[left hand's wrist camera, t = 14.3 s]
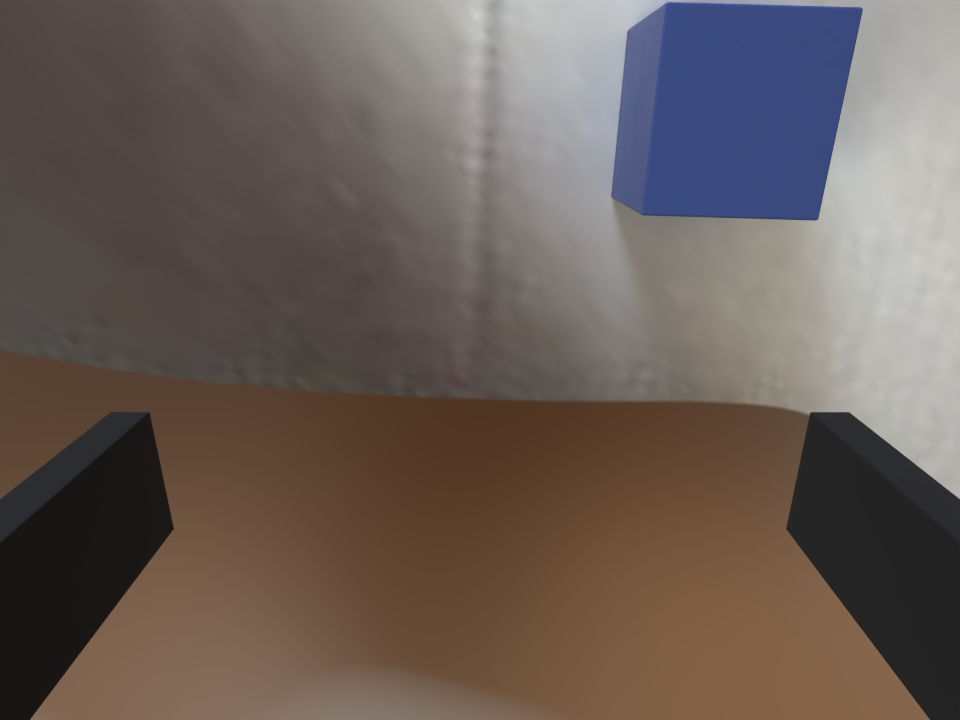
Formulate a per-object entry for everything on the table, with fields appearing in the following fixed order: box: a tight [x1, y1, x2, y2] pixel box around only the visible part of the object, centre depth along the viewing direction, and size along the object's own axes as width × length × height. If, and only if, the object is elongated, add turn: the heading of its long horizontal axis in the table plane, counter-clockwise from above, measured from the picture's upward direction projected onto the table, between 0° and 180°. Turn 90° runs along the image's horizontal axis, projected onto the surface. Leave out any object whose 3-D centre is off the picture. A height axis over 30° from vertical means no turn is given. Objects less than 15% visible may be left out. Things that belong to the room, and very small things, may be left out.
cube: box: [612, 2, 863, 220], centre depth 29 cm, size 8×8×7 cm
